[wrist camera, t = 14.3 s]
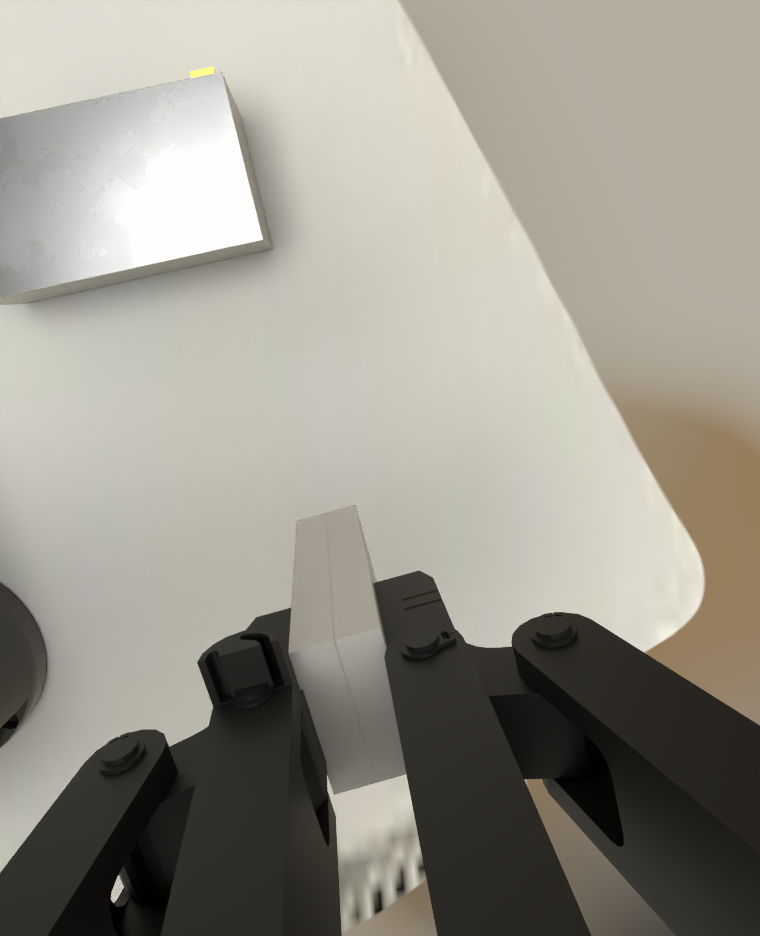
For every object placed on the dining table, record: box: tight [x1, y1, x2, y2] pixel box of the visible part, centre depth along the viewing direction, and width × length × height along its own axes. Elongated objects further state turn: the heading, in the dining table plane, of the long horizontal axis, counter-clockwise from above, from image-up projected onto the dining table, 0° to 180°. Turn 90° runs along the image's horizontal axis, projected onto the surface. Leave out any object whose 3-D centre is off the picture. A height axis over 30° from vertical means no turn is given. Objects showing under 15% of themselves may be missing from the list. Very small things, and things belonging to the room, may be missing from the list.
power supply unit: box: [0, 67, 273, 305], centre depth 40 cm, size 16×9×9 cm, turn 102°
